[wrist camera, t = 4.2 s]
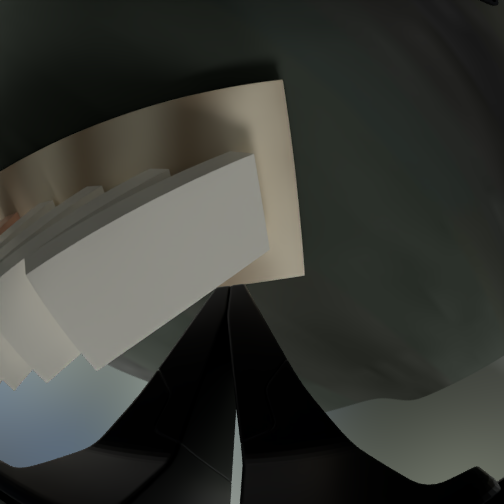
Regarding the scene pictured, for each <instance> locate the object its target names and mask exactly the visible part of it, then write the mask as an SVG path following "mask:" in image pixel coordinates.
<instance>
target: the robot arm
mask: <svg viewBox="0 0 504 504" xmlns="http://www.w3.org/2000/svg"><path fill="white" fill-rule="evenodd" d="M480 1H482V2H485V3H487V4H489V5H492V6H495V5H498V0H480ZM236 410H237V418H238V426H239V435H240V442H241V450H242V462H243V463H242V464H243V467H242V482H241V496H240V504H504V478H502V479H501V480H499V481H496V480H494V478H493V477H491V476H490V475H489V474H487V473H486V472H485V471H484V470H482V469H481V468H480V467H477V466H476V467H473V468H471V469H469V470H467V471H465V472H463V473H461V474H459V475H457V476H455V477H453V478H451V479H449V480H447V481H444V482H442V483H438V484H431V485H426V484H420V483H417V482H414V481H412V480H410V479H408V478H406V477H405V476H403V475H401V474H399V473H398V472H396V471H394V470H393V469H391V468H389V467H388V466H386V465H384V464H383V463H381V462H380V461H378V460H376V459H375V458H373V457H372V456H370V455H368V454H367V453H365V452H364V451H362V450H361V449H359V448H358V447H357V446H356V445H355V444H353V443H352V442H351V441H350V440H349V439H348V438H347V437H346V436H345V435H344V434H343V433H342V432H341V430H340V429H339V428H338V427H337V426H336V425H335V424H334V422H333V421H332V420H331V419H330V418H329V417H328V415H327V414H326V413H325V412H324V411H323V409H322V408H321V407H320V406H319V405H318V404H317V402H316V401H315V400H314V399H313V397H312V396H311V395H310V394H309V392H308V391H307V390H306V388H305V387H304V386H303V384H302V383H301V381H300V380H299V378H298V376H297V375H296V373H295V372H294V370H293V368H292V367H291V365H290V363H289V362H288V361H287V358H286V357H285V355H284V353H283V351H282V350H281V348H280V346H279V344H278V343H277V341H276V339H275V337H274V336H273V334H272V332H271V330H270V329H269V327H268V325H267V323H266V321H265V320H264V318H263V316H262V314H261V313H260V311H259V309H258V307H257V305H256V304H255V302H254V300H253V298H252V296H251V295H250V293H249V291H248V289H247V287H246V286H245V284H237V285H232V286H231V287H230V286H222V287H217V288H216V289H215V290H214V292H213V293H212V294H211V296H210V297H209V298H208V300H207V301H206V303H205V304H204V305H203V307H202V308H201V310H200V311H199V312H198V314H197V315H196V317H195V318H194V319H193V321H192V322H191V324H190V325H189V326H188V328H187V329H186V331H185V332H184V333H183V335H182V336H181V338H180V339H179V340H178V342H177V343H176V345H175V346H174V347H173V349H172V350H171V352H170V353H169V354H168V356H167V357H166V359H165V360H164V362H163V363H162V364H161V366H160V367H159V370H157V371H156V373H155V374H154V375H153V377H152V378H151V380H150V381H149V382H148V384H147V385H146V386H145V388H144V389H143V390H142V392H141V393H140V394H139V396H138V397H137V398H136V399H135V400H134V401H133V403H132V404H131V405H130V406H129V407H128V408H127V410H126V411H125V412H124V413H123V414H122V415H121V416H120V417H119V419H118V420H117V421H116V422H115V423H114V424H113V425H112V426H111V428H110V429H109V430H108V431H107V432H106V433H105V434H104V435H103V436H102V437H101V438H100V439H99V440H98V441H97V442H96V443H94V444H93V445H91V446H90V447H88V448H86V449H84V450H81V451H78V452H76V453H72V454H69V455H66V456H63V457H61V458H57V459H54V460H51V461H48V462H45V463H41V464H38V465H34V466H30V467H24V468H16V467H12V466H10V465H8V464H6V463H4V462H3V461H1V460H0V504H230V499H231V481H232V465H233V450H234V435H235V420H236Z"/></svg>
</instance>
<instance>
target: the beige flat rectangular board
mask: <svg viewBox="0 0 504 504" xmlns="http://www.w3.org/2000/svg"><path fill="white" fill-rule="evenodd" d="M229 151H234V152H244V153H252V154H254V157H255V163H256V169H257V175H258V180H259V186H260V192H261V198H262V204H263V211H264V217H265V223H266V229H267V235H268V242H269V248H270V250H269V251H267V252H266V253H264V254H263V255H262V256H260V257H259V258H257V259H256V260H255V261H253V262H252V263H250V264H249V265H248V266H246V267H245V268H243V269H242V270H241V271H239V272H238V273H236V274H235V275H234V276H232V277H231V278H229V279H228V280H226V281H225V282H224V283H222V284H221V285H219V286H218V287H222V286H232V285H237V284H249V283H256V282H263V281H270V280H277V279H284V278H291V277H298V276H304V261H303V248H302V236H301V224H300V214H299V203H298V194H297V184H296V175H295V166H294V158H293V150H292V142H291V134H290V127H289V119H288V112H287V105H286V98H285V92H284V85H283V80H272V81H265V82H257V83H251V84H244V85H238V86H233V87H227V88H222V89H217V90H212V91H207V92H203V93H198V94H194V95H190V96H186V97H182V98H178V99H174V100H170V101H166V102H163V103H159V104H156V105H152V106H149V107H146V108H142V109H139V110H136V111H133V112H130V113H127V114H124V115H121V116H118V117H116V118H113V119H110V120H107V121H105V122H102V123H99V124H97V125H94V126H92V127H89V128H87V129H84V130H82V131H79V132H77V133H75V134H72V135H70V136H68V137H66V138H63V139H61V140H59V141H57V142H55V143H53V144H50V145H48V146H46V147H44V148H42V149H40V150H38V151H36V152H34V153H32V154H31V155H29V156H27V157H25V158H23V159H21V160H19V161H18V162H16V163H14V164H12V165H10V166H9V167H7V168H5V169H4V170H2V171H0V221H1V220H2V219H3V218H5V217H6V216H9V215H11V214H14V213H16V212H18V214H19V216H20V218H21V217H22V216H24V215H25V214H26V213H27V212H29V211H30V210H31V209H33V208H34V207H35V206H36V205H38V204H39V203H42V202H46V201H51V200H53V202H54V204H55V206H58V205H59V204H61V203H62V202H64V201H65V200H67V199H68V198H70V197H71V196H73V195H74V194H76V193H77V192H79V191H80V190H82V189H84V188H85V187H87V186H101V185H102V187H103V190H104V192H107V191H109V190H110V189H112V188H114V187H116V186H118V185H119V184H121V183H123V182H125V181H127V180H129V179H130V178H132V177H134V176H136V175H138V174H140V173H142V172H144V171H146V170H148V169H150V168H153V169H169V171H170V175H171V176H173V175H175V174H177V173H179V172H182V171H184V170H186V169H188V168H191V167H193V166H195V165H198V164H200V163H202V162H205V161H207V160H209V159H212V158H214V157H217V156H219V155H222V154H224V153H227V152H229Z"/></svg>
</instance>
